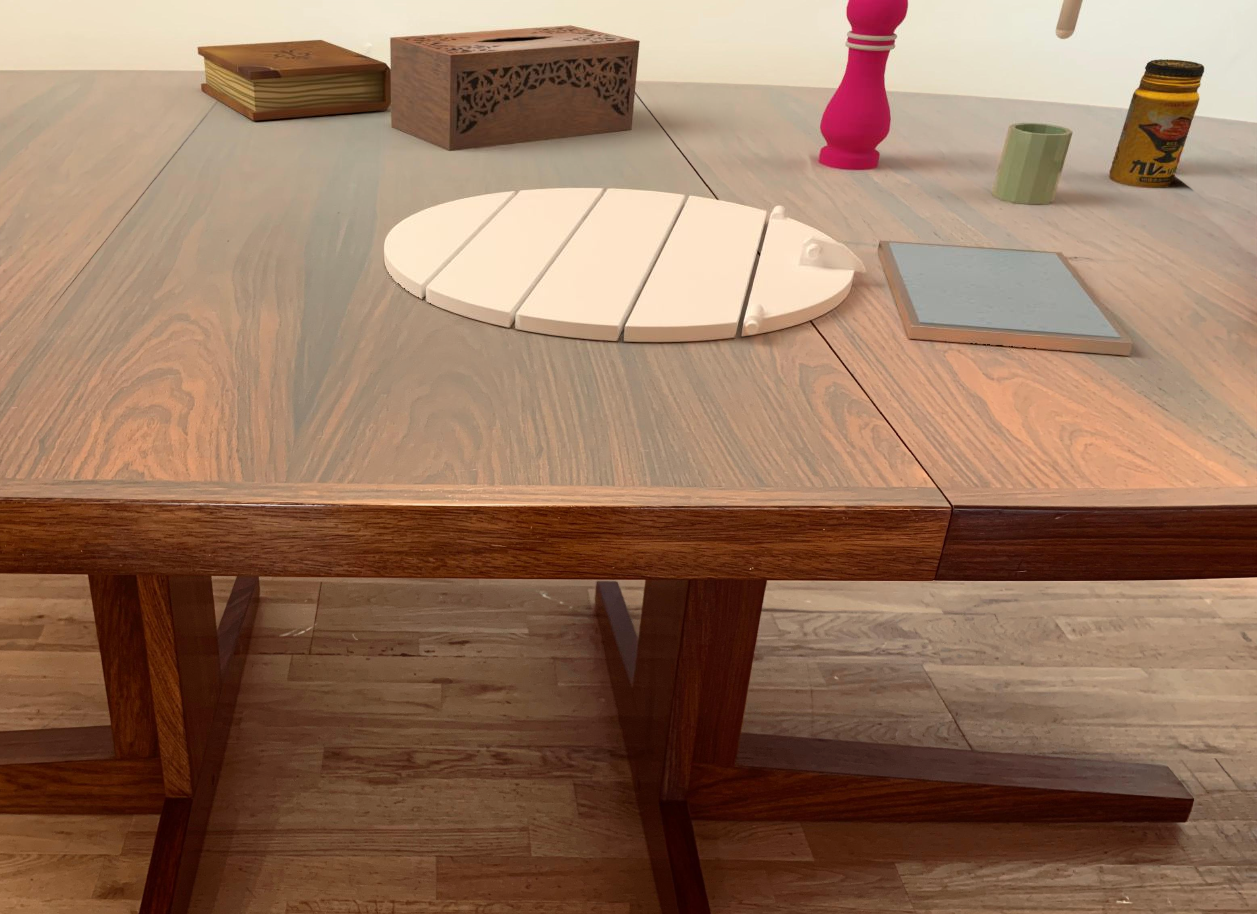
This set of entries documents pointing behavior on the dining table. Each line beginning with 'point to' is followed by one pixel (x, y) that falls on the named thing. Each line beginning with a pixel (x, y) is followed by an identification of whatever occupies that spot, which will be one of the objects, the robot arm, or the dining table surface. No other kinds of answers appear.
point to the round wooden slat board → (618, 264)
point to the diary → (295, 79)
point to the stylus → (1068, 18)
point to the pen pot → (1031, 163)
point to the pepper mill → (862, 87)
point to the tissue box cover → (512, 85)
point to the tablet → (998, 298)
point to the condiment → (1157, 124)
